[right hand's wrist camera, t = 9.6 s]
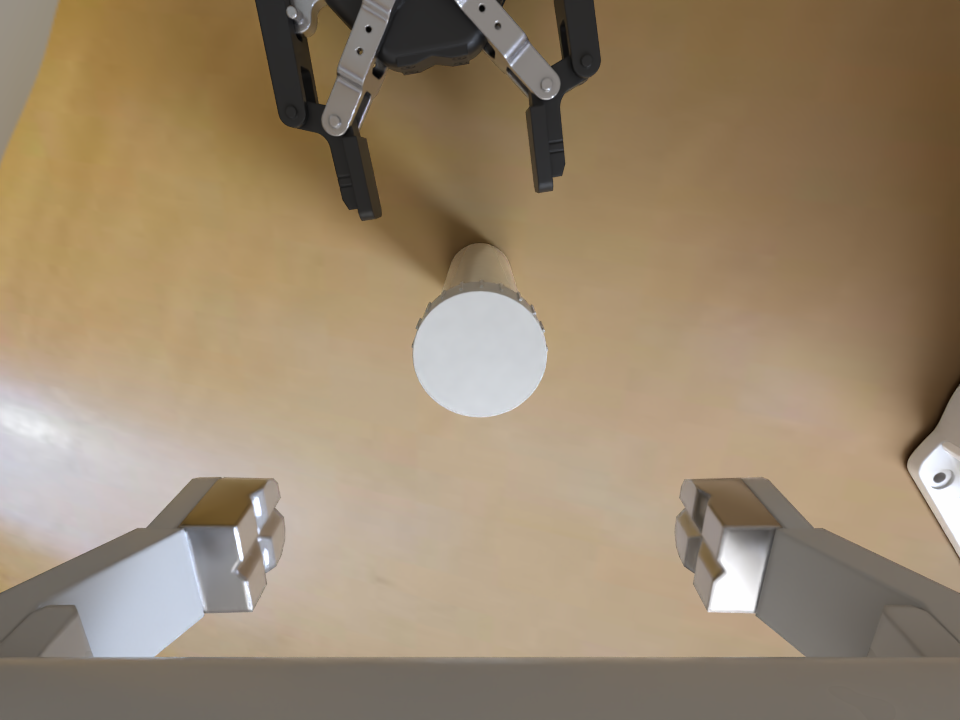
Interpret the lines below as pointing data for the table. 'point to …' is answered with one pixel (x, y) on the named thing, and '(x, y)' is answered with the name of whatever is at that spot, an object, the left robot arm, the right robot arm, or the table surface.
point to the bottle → (480, 267)
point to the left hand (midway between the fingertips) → (457, 205)
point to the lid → (479, 349)
